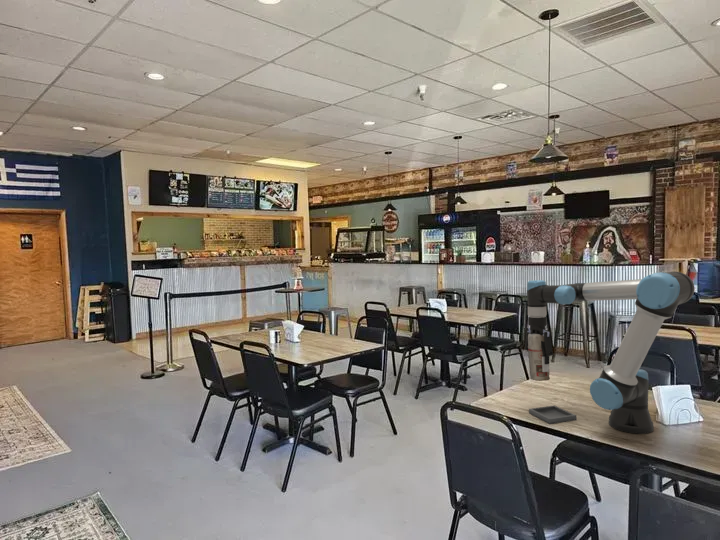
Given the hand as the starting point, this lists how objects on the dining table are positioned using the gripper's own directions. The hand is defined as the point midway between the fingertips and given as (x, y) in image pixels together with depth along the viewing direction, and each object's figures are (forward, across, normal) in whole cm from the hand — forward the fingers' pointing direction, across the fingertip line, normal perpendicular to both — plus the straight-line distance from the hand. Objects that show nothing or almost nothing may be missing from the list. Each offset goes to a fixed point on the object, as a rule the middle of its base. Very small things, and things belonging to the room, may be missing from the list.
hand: (539, 369), depth 199 cm
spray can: (+4, 0, 0) cm, 4 cm away
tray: (+19, -6, -1) cm, 20 cm away
